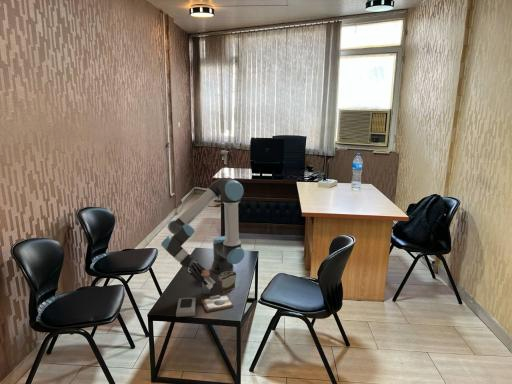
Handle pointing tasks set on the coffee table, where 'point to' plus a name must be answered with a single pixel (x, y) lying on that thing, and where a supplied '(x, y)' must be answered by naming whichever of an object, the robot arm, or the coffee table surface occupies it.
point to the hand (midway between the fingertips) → (212, 285)
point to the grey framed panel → (186, 307)
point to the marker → (207, 276)
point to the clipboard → (217, 303)
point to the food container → (227, 280)
